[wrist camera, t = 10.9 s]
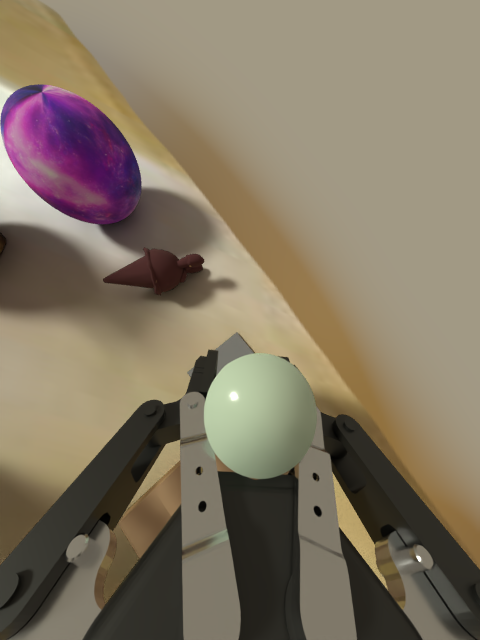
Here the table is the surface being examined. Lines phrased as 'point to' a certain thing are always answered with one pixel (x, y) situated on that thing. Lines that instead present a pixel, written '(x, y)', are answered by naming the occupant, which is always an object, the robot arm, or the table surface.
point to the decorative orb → (70, 154)
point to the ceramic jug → (2, 242)
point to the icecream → (157, 270)
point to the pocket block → (156, 509)
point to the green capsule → (260, 416)
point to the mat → (230, 352)
